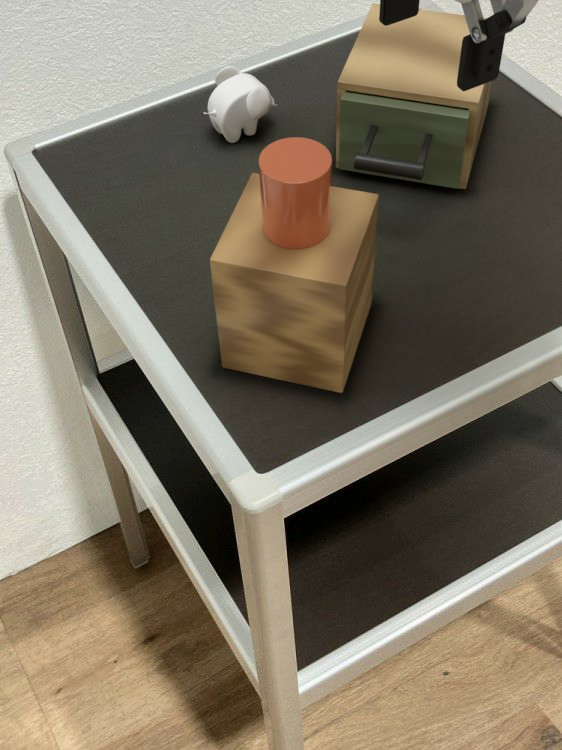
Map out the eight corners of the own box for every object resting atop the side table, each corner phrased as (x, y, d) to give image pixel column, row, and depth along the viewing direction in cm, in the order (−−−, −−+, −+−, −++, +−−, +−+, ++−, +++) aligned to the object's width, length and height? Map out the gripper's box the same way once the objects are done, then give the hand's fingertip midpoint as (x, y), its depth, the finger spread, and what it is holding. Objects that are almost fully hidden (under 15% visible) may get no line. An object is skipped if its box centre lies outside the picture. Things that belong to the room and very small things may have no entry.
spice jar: (338, 209, 71) (339, 143, 67) (320, 255, 68) (321, 188, 64) (273, 198, 72) (270, 131, 68) (253, 242, 69) (249, 176, 65)
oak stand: (371, 304, 82) (378, 193, 72) (342, 393, 76) (346, 285, 66) (259, 282, 84) (252, 172, 74) (221, 367, 78) (209, 259, 68)
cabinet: (465, 189, 91) (479, 102, 83) (335, 167, 93) (337, 81, 86) (488, 105, 99) (502, 19, 92) (368, 87, 101) (372, 2, 94)
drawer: (446, 229, 86) (456, 158, 80) (323, 207, 88) (323, 137, 82) (479, 110, 97) (490, 40, 91) (369, 94, 99) (372, 24, 93)
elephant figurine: (292, 133, 97) (291, 81, 92) (224, 162, 94) (220, 110, 90) (256, 100, 101) (253, 49, 96) (189, 128, 98) (183, 76, 93)
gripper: (614, -173, 53) (554, 94, 66) (432, -265, 63) (411, -17, 76) (505, -140, 51) (465, 129, 64) (333, -241, 61) (330, 10, 74)
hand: (436, 50), depth 70 cm, fingers open, 9 cm apart
